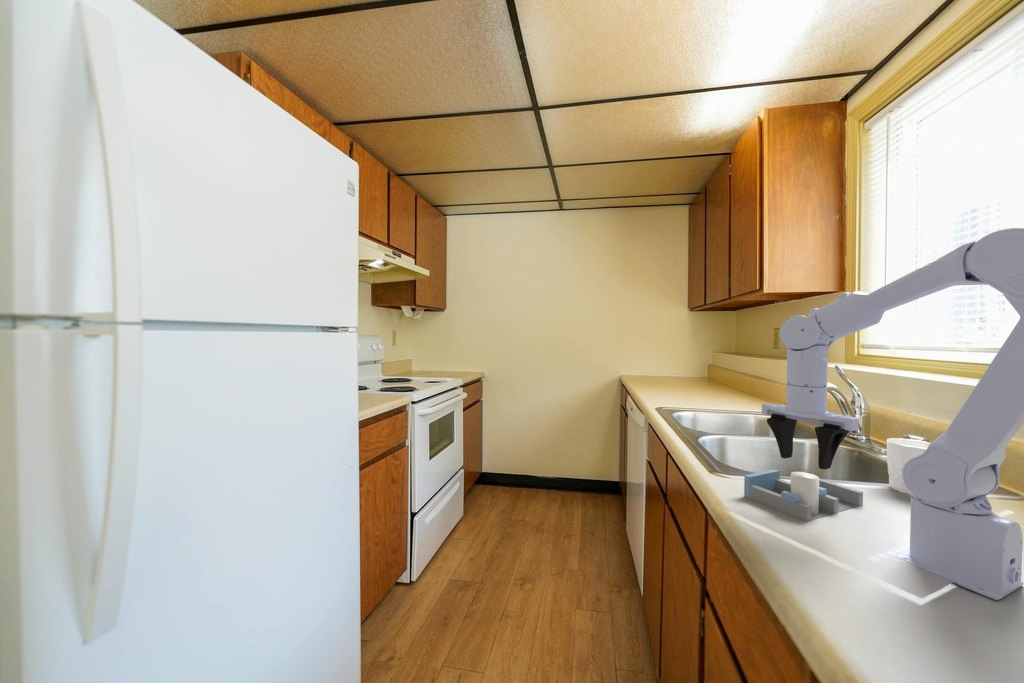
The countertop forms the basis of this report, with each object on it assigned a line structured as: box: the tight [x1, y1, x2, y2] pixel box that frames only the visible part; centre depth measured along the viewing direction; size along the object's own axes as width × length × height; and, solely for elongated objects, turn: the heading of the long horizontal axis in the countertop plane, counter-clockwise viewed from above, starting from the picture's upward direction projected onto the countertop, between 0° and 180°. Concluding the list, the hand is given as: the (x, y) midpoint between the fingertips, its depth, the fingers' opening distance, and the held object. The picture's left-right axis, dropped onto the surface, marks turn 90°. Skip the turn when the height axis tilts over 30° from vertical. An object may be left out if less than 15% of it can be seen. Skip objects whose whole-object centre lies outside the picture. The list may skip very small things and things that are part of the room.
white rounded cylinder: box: [790, 471, 820, 515], centre depth 69 cm, size 4×4×6 cm
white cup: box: [886, 437, 932, 496], centre depth 79 cm, size 8×8×10 cm
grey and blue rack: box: [743, 469, 864, 523], centre depth 73 cm, size 11×16×5 cm
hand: (804, 462), depth 69 cm, fingers open, 6 cm apart
